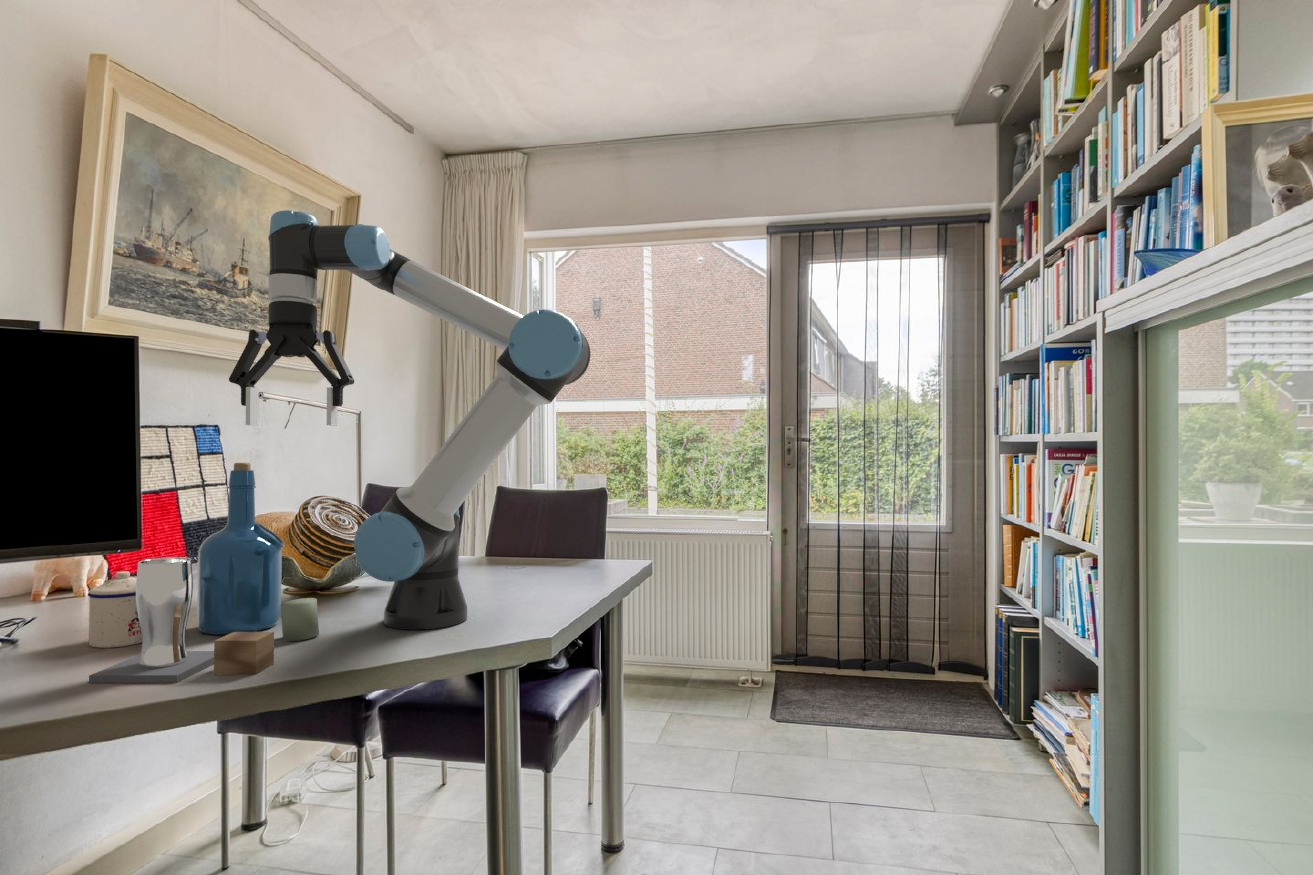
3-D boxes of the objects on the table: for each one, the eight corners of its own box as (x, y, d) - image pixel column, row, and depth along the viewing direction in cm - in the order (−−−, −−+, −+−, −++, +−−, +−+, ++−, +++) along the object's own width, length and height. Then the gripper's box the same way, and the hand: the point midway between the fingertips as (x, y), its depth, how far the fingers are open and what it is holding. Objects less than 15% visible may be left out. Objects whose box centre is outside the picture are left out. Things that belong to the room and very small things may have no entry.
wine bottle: (189, 640, 122) (192, 463, 122) (203, 622, 134) (206, 462, 134) (280, 632, 127) (283, 463, 128) (285, 616, 139) (287, 462, 140)
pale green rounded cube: (321, 636, 123) (319, 601, 123) (284, 643, 120) (282, 607, 120) (316, 629, 128) (314, 596, 128) (281, 636, 125) (279, 602, 125)
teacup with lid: (138, 647, 117) (140, 575, 117) (74, 650, 115) (76, 577, 115) (171, 629, 129) (172, 564, 129) (113, 631, 127) (114, 565, 127)
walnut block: (273, 664, 108) (274, 631, 108) (255, 675, 103) (256, 640, 103) (233, 665, 108) (233, 631, 108) (213, 675, 103) (214, 640, 103)
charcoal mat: (226, 657, 112) (226, 650, 112) (177, 682, 100) (177, 675, 100) (147, 657, 111) (147, 651, 111) (88, 682, 99) (88, 675, 99)
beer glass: (128, 671, 101) (130, 565, 101) (141, 658, 107) (143, 558, 108) (186, 666, 104) (188, 562, 104) (195, 653, 110) (197, 555, 110)
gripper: (373, 308, 129) (372, 426, 128) (231, 307, 128) (230, 425, 127) (358, 299, 121) (357, 424, 121) (207, 298, 120) (205, 424, 120)
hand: (292, 425), depth 124 cm, fingers open, 13 cm apart
